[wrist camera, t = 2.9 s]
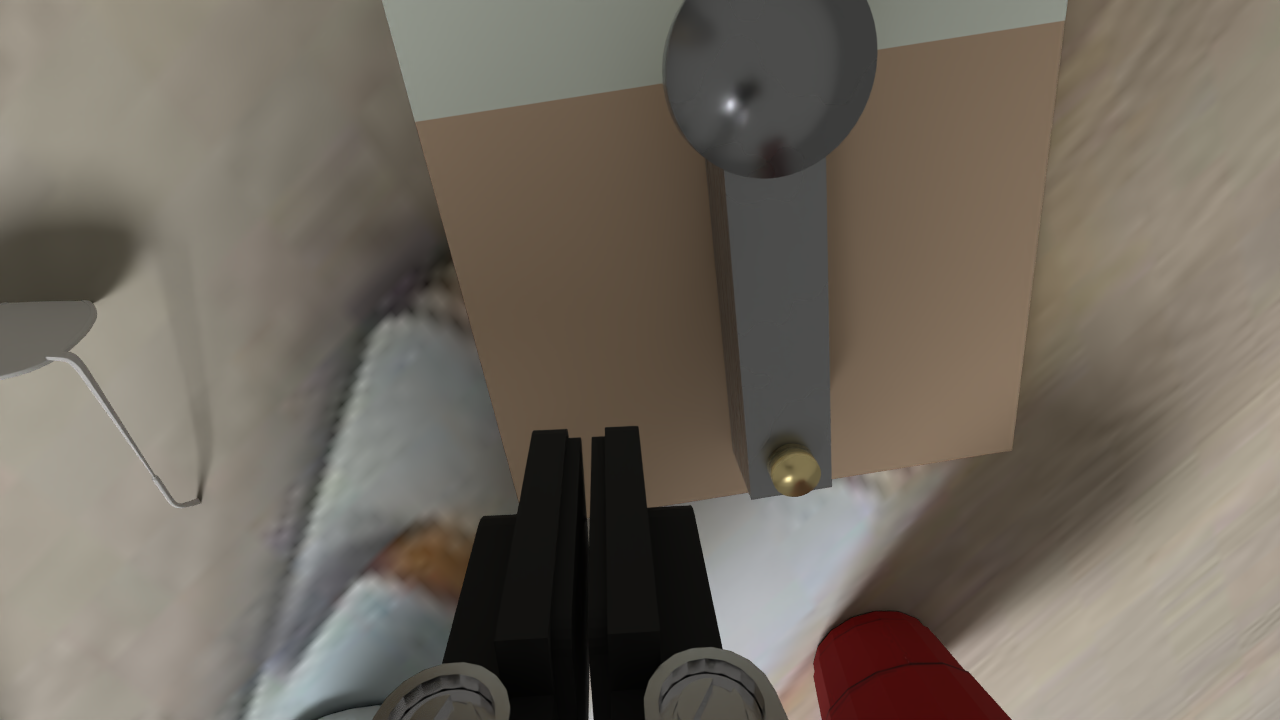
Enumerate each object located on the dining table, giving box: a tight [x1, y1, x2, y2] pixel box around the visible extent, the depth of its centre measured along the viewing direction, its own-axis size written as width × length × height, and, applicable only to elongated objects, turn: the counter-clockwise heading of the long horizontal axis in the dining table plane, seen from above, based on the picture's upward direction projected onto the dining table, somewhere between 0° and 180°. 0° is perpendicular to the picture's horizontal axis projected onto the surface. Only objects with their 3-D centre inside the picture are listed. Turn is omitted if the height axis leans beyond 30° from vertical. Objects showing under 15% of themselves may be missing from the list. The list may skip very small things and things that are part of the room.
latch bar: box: [662, 0, 878, 500], centre depth 17 cm, size 14×5×4 cm, turn 8°
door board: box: [382, 0, 1068, 518], centre depth 17 cm, size 28×18×5 cm, turn 8°
